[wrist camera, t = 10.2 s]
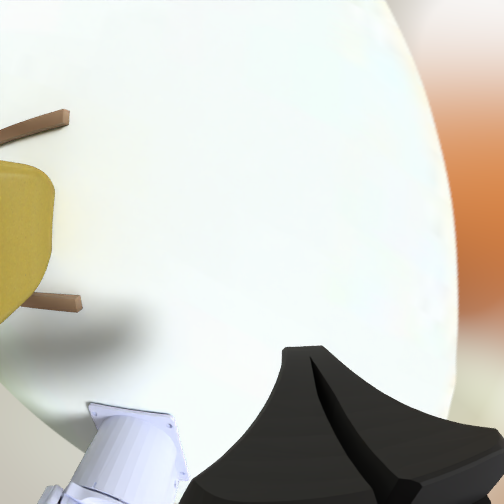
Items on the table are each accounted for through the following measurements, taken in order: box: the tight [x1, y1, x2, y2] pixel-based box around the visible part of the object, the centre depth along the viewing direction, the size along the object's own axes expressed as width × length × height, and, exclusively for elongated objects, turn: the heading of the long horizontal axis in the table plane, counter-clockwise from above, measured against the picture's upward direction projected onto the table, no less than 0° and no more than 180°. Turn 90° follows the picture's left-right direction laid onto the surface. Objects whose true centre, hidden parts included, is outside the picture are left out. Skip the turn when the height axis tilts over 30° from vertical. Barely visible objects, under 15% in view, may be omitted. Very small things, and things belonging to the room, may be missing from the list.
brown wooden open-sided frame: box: [0, 109, 82, 312], centre depth 18 cm, size 14×14×1 cm
